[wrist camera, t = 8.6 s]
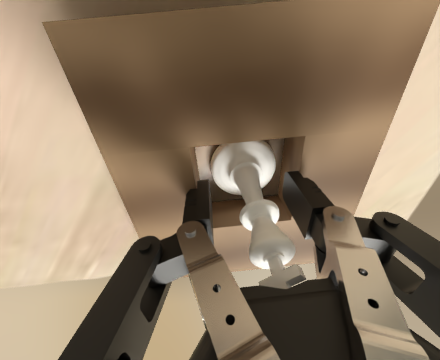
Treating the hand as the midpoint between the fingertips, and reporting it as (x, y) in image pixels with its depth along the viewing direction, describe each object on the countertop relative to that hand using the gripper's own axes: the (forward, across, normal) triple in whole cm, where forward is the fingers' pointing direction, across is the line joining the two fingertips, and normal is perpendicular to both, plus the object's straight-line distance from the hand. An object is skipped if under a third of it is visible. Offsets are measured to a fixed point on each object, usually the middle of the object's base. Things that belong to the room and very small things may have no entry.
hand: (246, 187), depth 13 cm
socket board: (+3, 0, 0) cm, 3 cm away
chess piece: (+3, 0, 0) cm, 3 cm away
